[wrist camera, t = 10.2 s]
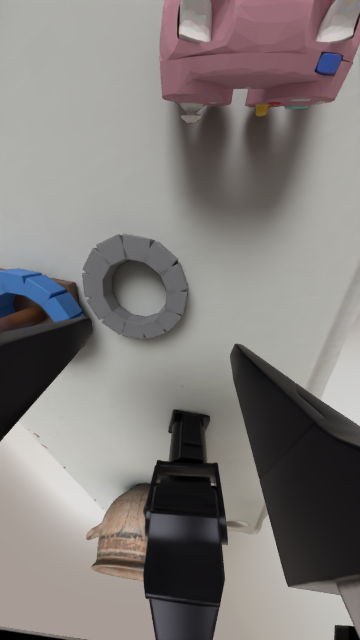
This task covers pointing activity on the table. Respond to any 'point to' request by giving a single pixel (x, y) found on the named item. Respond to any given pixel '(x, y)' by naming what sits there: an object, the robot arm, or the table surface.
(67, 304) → the blue ring
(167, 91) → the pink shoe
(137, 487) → the cooking pot
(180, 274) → the grey ring
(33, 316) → the peg stand
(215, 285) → the table surface
